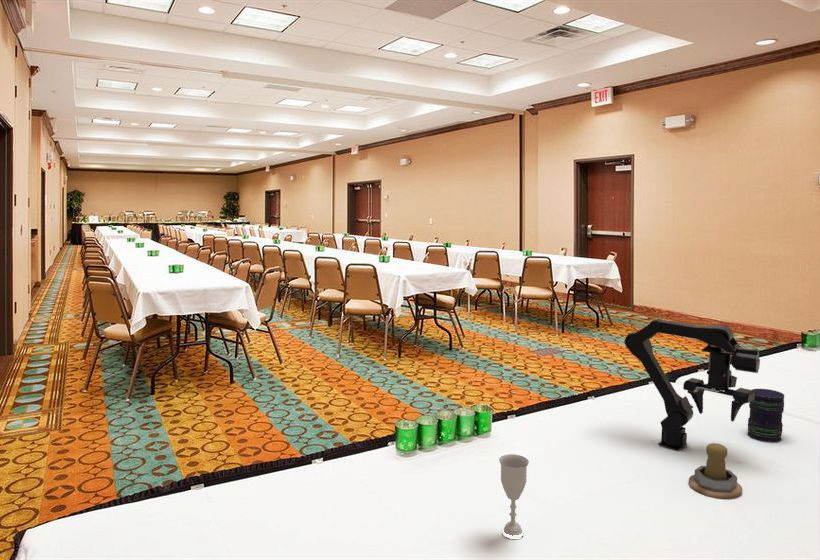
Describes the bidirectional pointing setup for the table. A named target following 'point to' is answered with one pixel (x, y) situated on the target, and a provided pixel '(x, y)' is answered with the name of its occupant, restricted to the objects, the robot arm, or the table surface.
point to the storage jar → (766, 415)
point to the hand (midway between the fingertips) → (716, 417)
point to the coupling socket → (715, 485)
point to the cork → (716, 461)
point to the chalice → (513, 485)
